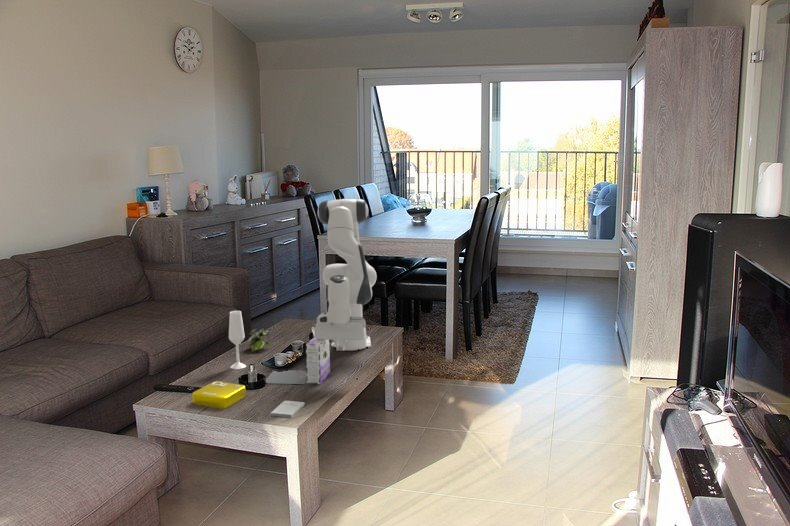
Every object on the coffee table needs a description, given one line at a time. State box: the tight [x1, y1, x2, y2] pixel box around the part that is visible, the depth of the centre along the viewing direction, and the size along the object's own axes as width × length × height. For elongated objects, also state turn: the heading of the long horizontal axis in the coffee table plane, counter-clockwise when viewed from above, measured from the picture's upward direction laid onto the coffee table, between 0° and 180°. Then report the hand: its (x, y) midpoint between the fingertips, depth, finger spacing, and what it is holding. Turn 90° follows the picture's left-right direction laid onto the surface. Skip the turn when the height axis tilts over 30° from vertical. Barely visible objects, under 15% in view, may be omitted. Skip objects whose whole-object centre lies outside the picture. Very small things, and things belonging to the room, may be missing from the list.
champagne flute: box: [228, 310, 247, 370], centre depth 296 cm, size 7×7×24 cm
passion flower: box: [247, 328, 271, 353], centre depth 323 cm, size 11×11×12 cm
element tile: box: [191, 380, 247, 409], centre depth 260 cm, size 15×15×5 cm
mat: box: [265, 369, 307, 386], centre depth 284 cm, size 16×17×1 cm
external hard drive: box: [269, 400, 305, 419], centre depth 249 cm, size 2×8×12 cm
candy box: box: [305, 336, 331, 385], centre depth 281 cm, size 14×6×16 cm, turn 168°
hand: (340, 350), depth 279 cm, fingers closed
